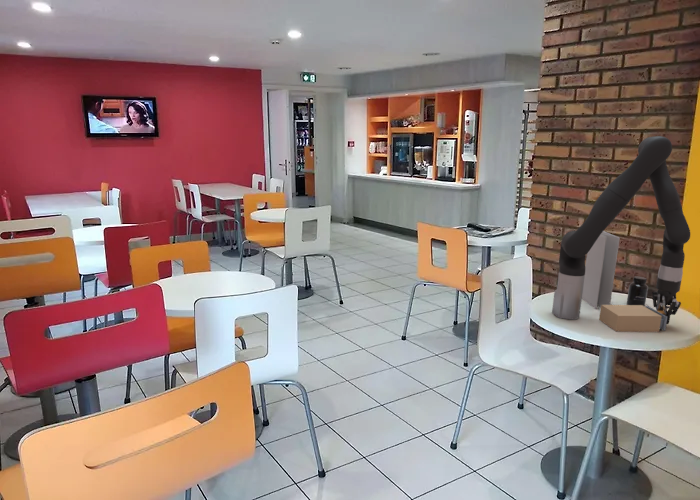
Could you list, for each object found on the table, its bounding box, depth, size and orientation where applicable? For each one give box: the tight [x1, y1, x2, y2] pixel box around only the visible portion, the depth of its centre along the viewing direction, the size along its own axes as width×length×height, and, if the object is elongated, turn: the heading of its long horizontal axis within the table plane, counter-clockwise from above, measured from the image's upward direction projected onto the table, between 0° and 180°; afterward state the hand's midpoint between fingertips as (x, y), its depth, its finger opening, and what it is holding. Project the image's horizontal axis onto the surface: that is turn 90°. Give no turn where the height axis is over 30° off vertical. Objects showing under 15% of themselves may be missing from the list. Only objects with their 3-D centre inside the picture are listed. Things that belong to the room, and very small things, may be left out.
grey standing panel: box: [582, 230, 621, 310], centre depth 213 cm, size 14×6×30 cm, turn 179°
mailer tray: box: [645, 305, 667, 332], centre depth 191 cm, size 20×12×5 cm, turn 92°
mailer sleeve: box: [598, 304, 662, 333], centre depth 191 cm, size 16×12×6 cm
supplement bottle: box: [626, 275, 649, 307], centre depth 215 cm, size 7×7×12 cm
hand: (662, 321), depth 192 cm, fingers closed on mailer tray, 3 cm apart
